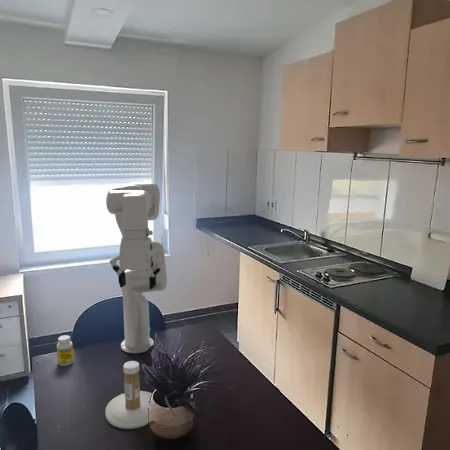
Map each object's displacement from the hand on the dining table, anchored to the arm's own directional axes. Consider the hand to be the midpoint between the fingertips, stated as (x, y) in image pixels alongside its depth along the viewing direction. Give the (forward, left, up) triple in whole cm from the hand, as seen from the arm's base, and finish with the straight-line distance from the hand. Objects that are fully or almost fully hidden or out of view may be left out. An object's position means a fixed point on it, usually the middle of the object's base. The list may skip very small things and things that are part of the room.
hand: (137, 286), depth 128 cm
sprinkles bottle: (+14, +3, -32) cm, 35 cm away
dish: (+14, +3, -33) cm, 36 cm away
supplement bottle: (-8, -31, -34) cm, 46 cm away
